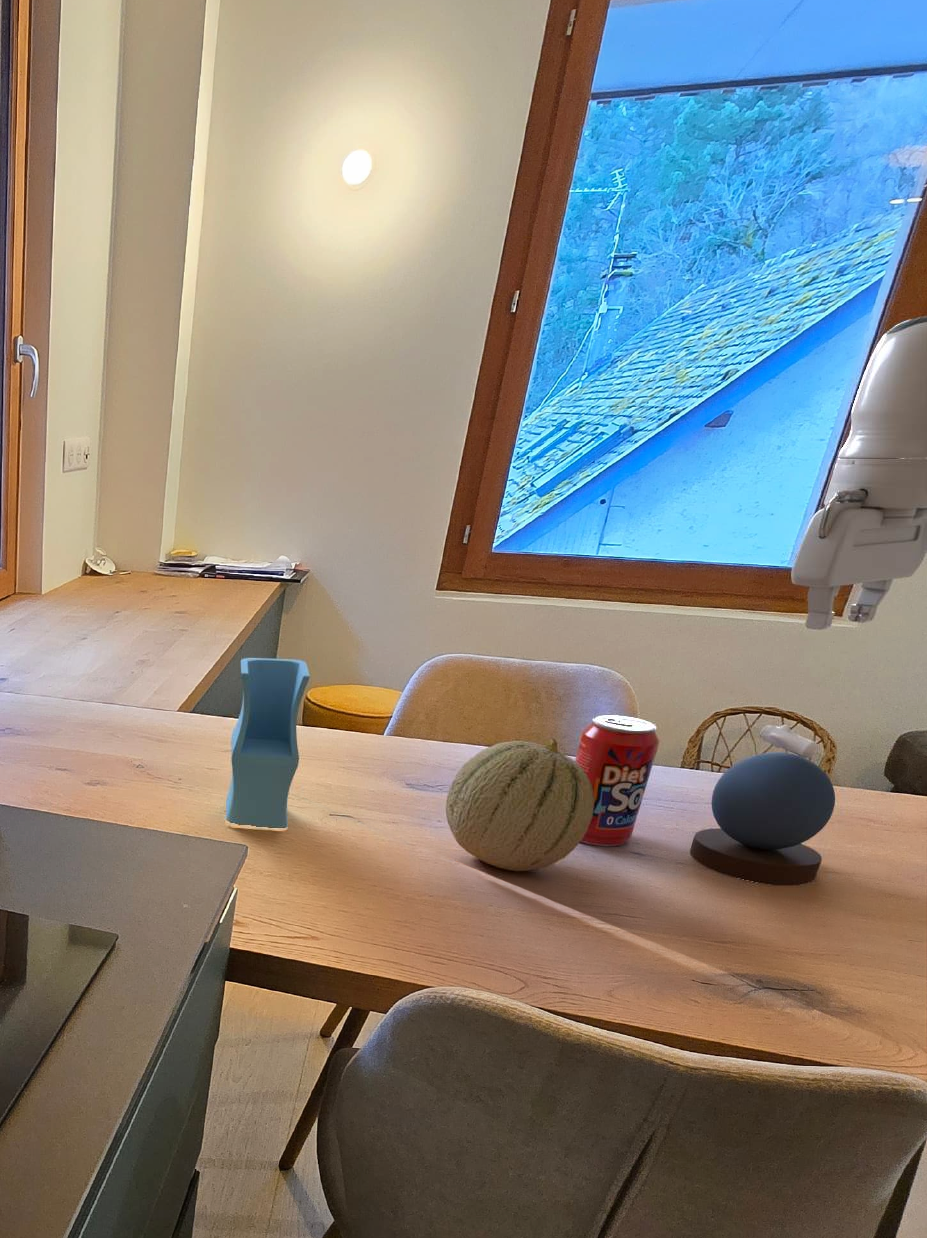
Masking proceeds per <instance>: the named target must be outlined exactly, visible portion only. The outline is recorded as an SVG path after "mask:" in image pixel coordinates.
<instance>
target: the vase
mask: <svg viewBox="0 0 927 1238" xmlns="http://www.w3.org/2000/svg"><path fill="white" fill-rule="evenodd" d="M240 675H241V683H242V703H241V707H240V712H239V716H238V719H237V721H236V723H235V726H234V728H233V731H232V732H231V738H230V748H231V749H230V750H231V751H230V752H231V753H230V754H231V755H230V759H231V779H230V785H229V789H228V793H227V796H226V798H225V801H226V820H227V821H229V822H230V823H235V824H238V825H251V826H256V827H268V828H286V827H287V826H288V827H289V825H288V824H289V823H288V799H289V793H290V789H291V785H292V782H293V779H294V777H295V774H296V772H297V769H298V767H299V761H300V753H299V746H298V737H297V725H298V724H297V722H298V715H299V710H300V709H299V708H300V706H301V702H302V698H303V695H304V693H305V690H306V689H307V686H308V683H309V680H310V678H311V675H310V673H309V668H308V665H307V663H306V661H304V660H300V659H290V658H267V657H244V658H242V659H240Z"/></svg>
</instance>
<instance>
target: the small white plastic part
mask: <svg viewBox="0 0 927 1238" xmlns="http://www.w3.org/2000/svg"><path fill="white" fill-rule="evenodd" d="M759 737H760V738H762V740H763V742H767V743H769V744H772V746H773V747H776V748H778V749H780V748H781V749H783V750H785V751H788V752H790V753H791V754H794V755H798V756H801V757H803V758H806V759H809V758H812V757H814V756H815V755H816V754H817V755H819V756H821V754H820V753H819V752H818V751H819V744H818V743H817V742H815V741H813V740H810V739H808V738H806V737H803V736H801V735H799V734H796V733H794V732H793V731H792V730H791V726H790V725H789V724H783V725H781V726H778V725H776V724H774V725H771V724H767V725H765V726H764V727H763V728H762V729H761V731H760V733H759Z"/></svg>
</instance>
